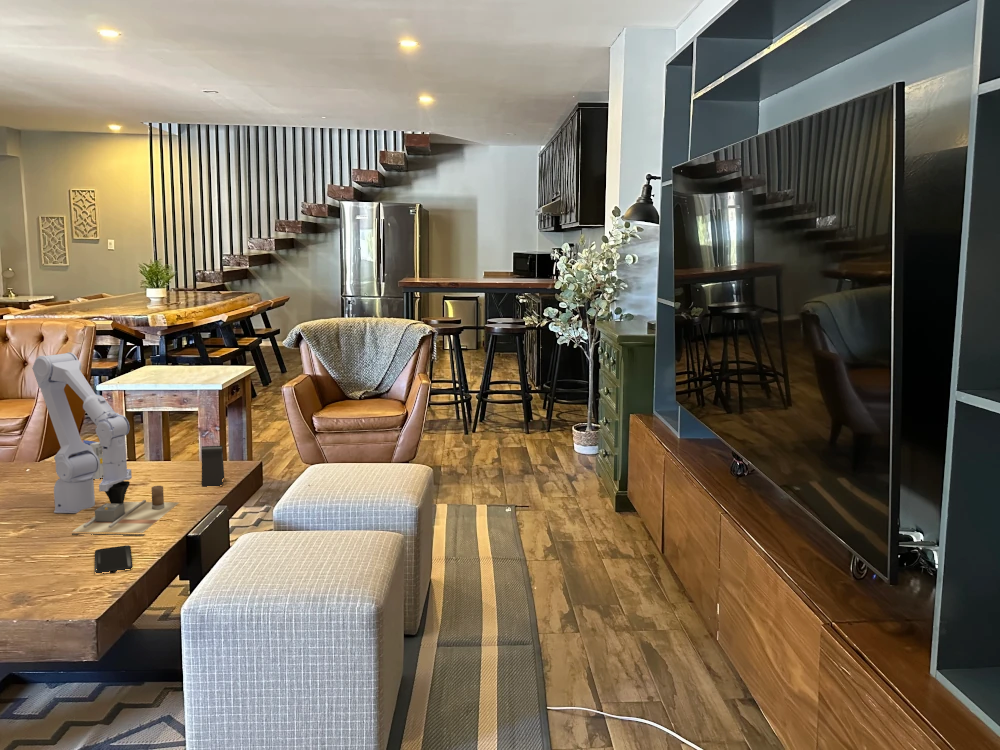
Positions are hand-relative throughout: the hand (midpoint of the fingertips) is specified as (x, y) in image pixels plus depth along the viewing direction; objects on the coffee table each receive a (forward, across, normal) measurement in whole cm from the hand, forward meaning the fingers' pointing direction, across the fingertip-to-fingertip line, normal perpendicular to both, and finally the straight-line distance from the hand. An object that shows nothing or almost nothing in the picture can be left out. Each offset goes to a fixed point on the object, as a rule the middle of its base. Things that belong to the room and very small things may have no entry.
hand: (117, 508), depth 210 cm
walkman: (+2, +36, +25) cm, 44 cm away
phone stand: (+2, +32, -15) cm, 35 cm away
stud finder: (+1, -4, 0) cm, 4 cm away
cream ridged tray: (+2, -2, -4) cm, 5 cm away
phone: (+3, -30, -13) cm, 33 cm away
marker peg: (+1, +5, -9) cm, 10 cm away
